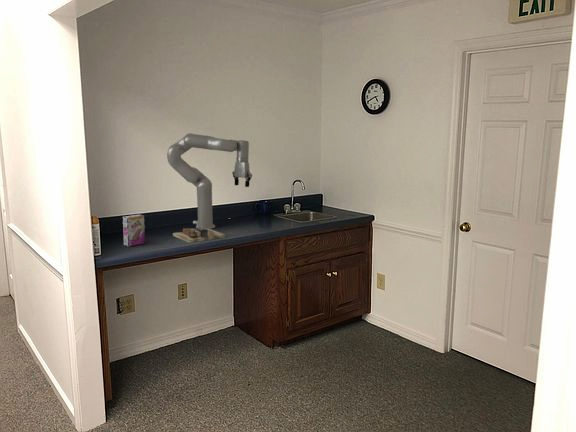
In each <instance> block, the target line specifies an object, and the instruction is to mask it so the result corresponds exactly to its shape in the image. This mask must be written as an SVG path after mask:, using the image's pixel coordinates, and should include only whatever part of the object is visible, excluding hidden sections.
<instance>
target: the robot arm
mask: <svg viewBox="0 0 576 432" xmlns="http://www.w3.org/2000/svg"><path fill="white" fill-rule="evenodd" d="M249 143H250V142H249V141H248V140H244V139H243V140H237V139H225V138H220V137H219V138H218V137H214V136H211V135H205V134H196V133H186V134H185V135H184V136H183V137H182V138H181V139H178V140H177V142H175V143H173V144H171V145H170V146H169V147H168V149H167V153H166V159H167V162H168V164H169V165H170V167H171V168H172V169H173V170H175V172H177V173H178V174H179V175H180V176H181V177H182V178H183V179H185V181H186V182H187V183H191V184H192V185H193V186H195V187H196V197H197V199H196V202H197V203H196V204H197V220H193V221H192V224H193V225H195V229H196V228H199V227H201V228H204V229H211V230H213V229H215V228H216V225H215V224H214V223H213V222H214V221H213V183H212V181H211V180H210V178H208V177H207V176H205V175H204V173H203V172H201V171H200V170H199V169H198V168H196V167H194V166H193V167H192V166H191V165H190V164H189V163H188V162H186V161H185V160H184V159H183V158H182V155H183V154H185V153H187V151H189V150H191V149H192V148H195V149H203V150H209V151H210V150H211V151H220V152H221V151H222V152H227V153H233V152H236V161H235V163H234V164H235V165H234V171H232V172H231V174H232V177H233V179H234V186H239V185H240V179H239V178H242V179H243V178H244V179H245V182H244V187H245V188H249V187H250V181H251V179H252V177H253V174H252V173H251V172H250V163H249V146H250V145H249Z"/></svg>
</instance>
